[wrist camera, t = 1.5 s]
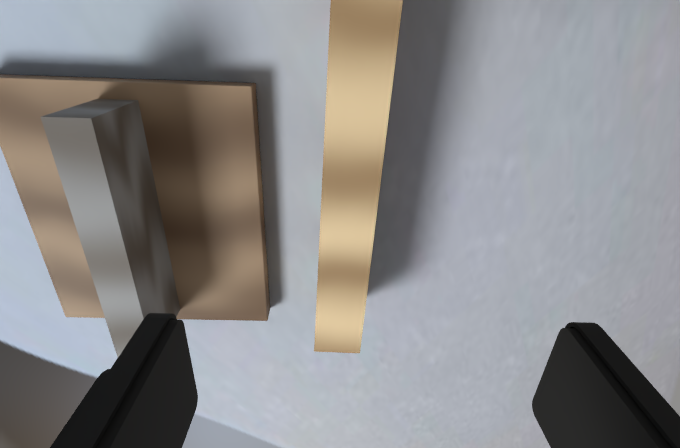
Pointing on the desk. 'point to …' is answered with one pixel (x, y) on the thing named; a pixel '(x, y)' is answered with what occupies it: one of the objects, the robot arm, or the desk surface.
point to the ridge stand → (141, 195)
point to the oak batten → (353, 162)
